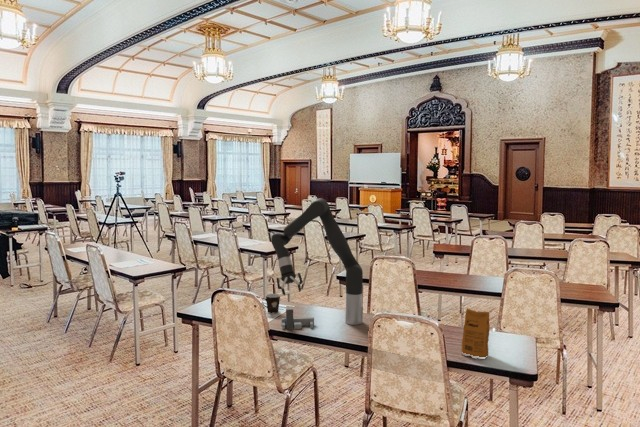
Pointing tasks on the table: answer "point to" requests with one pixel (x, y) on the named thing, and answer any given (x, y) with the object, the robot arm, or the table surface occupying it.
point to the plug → (289, 317)
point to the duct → (299, 322)
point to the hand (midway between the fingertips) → (292, 293)
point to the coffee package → (476, 333)
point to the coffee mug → (272, 302)
